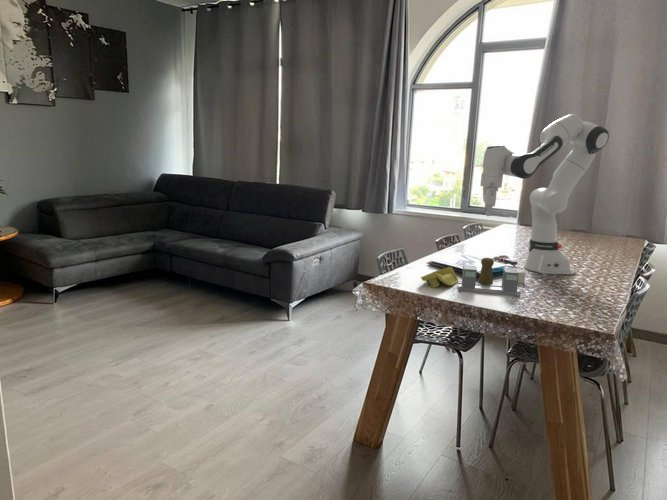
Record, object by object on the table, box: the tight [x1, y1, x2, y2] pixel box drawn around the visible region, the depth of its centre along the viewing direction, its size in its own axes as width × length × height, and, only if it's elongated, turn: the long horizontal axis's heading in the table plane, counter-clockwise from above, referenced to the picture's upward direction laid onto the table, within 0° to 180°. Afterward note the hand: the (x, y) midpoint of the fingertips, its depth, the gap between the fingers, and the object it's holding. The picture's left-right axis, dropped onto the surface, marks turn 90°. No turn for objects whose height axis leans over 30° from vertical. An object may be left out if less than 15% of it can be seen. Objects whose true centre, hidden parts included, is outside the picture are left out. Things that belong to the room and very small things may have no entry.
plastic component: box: [420, 266, 459, 288], centre depth 209 cm, size 20×7×10 cm
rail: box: [457, 281, 521, 297], centre depth 201 cm, size 24×7×2 cm, turn 78°
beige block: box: [516, 268, 526, 284], centre depth 216 cm, size 4×5×5 cm
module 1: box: [461, 264, 478, 289], centre depth 201 cm, size 5×7×8 cm
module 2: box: [501, 267, 519, 293], centre depth 198 cm, size 5×7×8 cm
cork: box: [477, 257, 495, 285], centre depth 212 cm, size 6×6×11 cm
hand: (487, 214), depth 216 cm, fingers open, 8 cm apart
